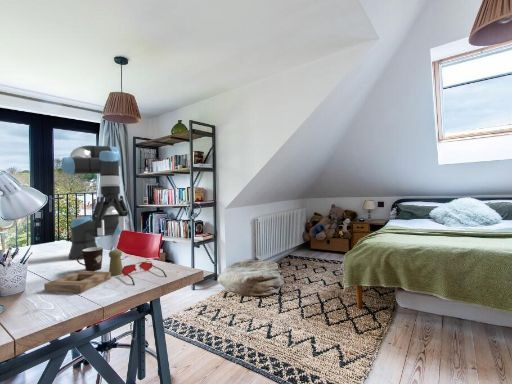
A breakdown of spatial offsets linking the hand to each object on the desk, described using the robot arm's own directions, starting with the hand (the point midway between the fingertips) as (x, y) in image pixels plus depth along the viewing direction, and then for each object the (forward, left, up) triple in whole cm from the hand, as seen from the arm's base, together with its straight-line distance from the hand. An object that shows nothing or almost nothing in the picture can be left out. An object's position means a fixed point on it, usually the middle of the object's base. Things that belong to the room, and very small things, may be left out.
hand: (112, 232), depth 122 cm
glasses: (+1, +16, -20) cm, 25 cm away
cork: (-1, +1, -19) cm, 19 cm away
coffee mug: (-5, -16, -19) cm, 26 cm away
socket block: (+13, -5, -19) cm, 24 cm away
